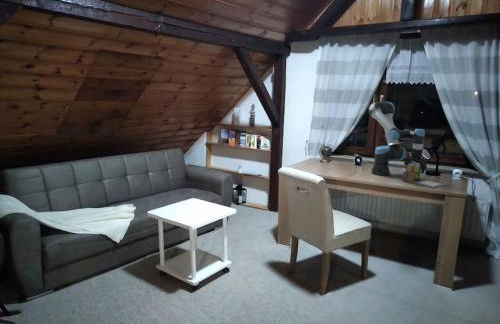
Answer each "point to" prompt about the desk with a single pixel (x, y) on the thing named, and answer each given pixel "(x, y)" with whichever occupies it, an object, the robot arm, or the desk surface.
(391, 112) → the robot arm
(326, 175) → the desk surface
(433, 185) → the build board
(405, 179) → the walnut block
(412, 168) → the puzzle cube
